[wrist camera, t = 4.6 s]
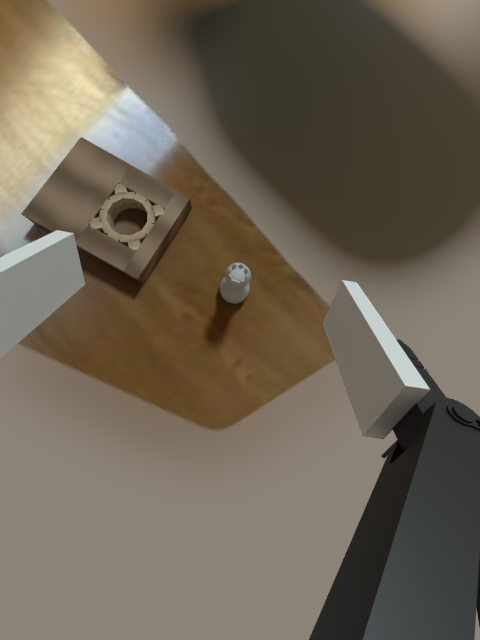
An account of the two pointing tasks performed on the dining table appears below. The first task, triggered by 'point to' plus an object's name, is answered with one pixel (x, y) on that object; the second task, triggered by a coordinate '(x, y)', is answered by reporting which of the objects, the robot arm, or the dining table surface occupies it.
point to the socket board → (109, 208)
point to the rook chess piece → (235, 283)
